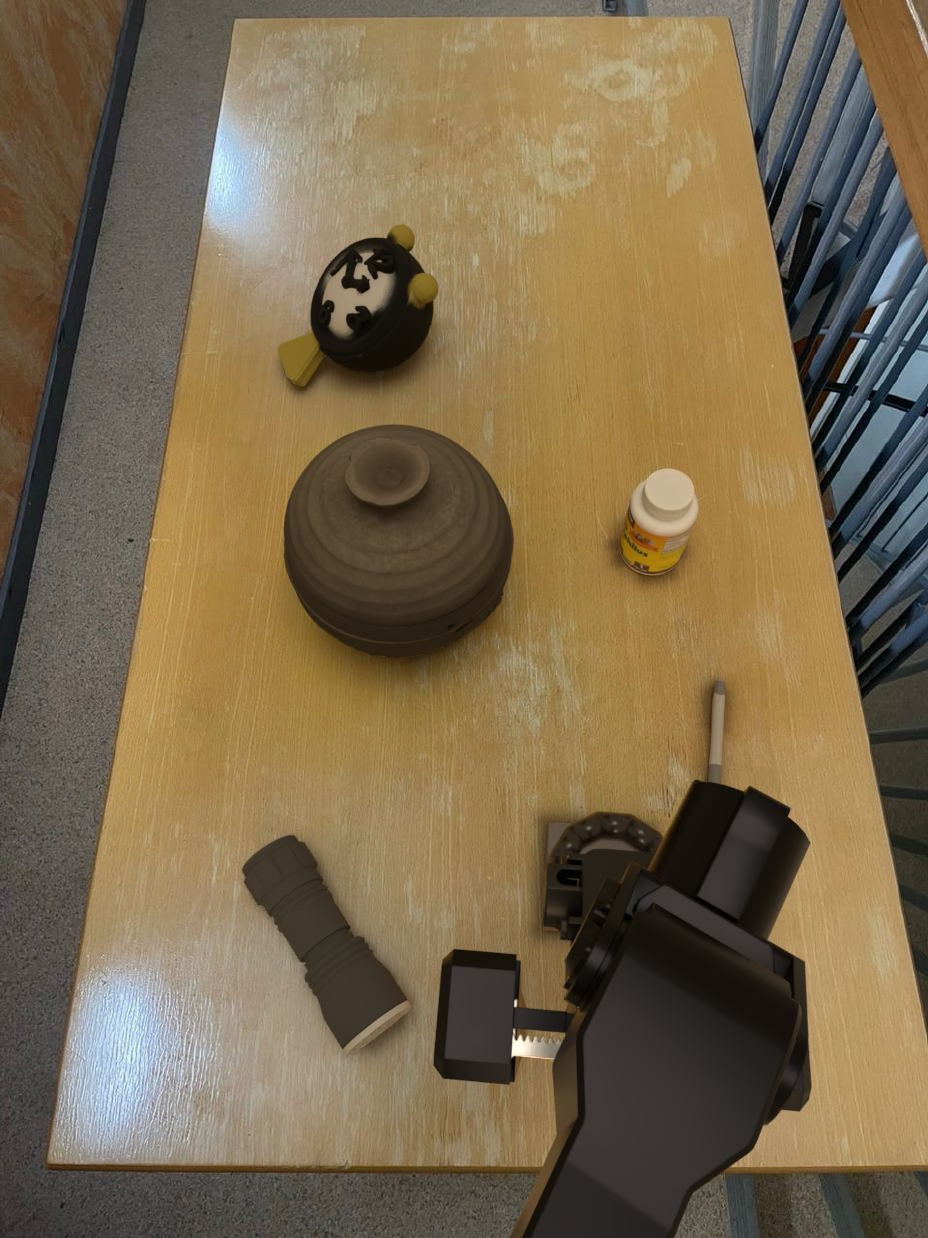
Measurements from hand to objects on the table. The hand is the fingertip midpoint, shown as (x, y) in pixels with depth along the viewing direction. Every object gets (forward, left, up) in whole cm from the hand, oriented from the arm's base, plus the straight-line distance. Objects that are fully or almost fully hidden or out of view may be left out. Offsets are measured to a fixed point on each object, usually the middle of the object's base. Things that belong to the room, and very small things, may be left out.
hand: (599, 1031), depth 55 cm
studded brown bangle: (+11, -2, -10) cm, 15 cm away
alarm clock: (+61, +23, -12) cm, 66 cm away
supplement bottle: (+40, -5, -12) cm, 42 cm away
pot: (+34, +16, -12) cm, 39 cm away
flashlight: (+5, +19, -12) cm, 23 cm away
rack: (+11, -1, -12) cm, 16 cm away
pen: (+21, -10, -12) cm, 26 cm away
